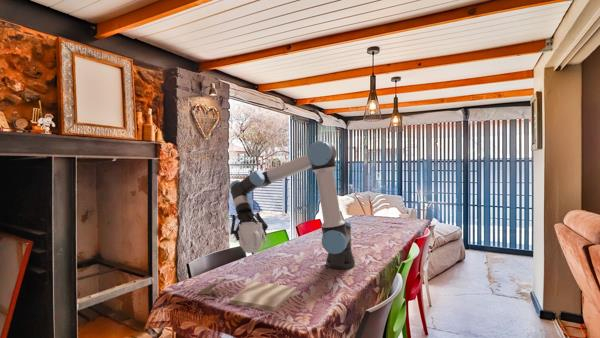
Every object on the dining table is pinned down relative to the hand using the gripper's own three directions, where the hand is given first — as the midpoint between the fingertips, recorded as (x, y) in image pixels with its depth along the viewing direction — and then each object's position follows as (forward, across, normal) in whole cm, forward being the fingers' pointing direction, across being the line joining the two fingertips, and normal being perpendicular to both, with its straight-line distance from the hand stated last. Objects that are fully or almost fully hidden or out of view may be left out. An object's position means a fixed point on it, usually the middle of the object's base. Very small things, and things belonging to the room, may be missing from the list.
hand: (253, 243), depth 151 cm
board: (+26, +3, +3) cm, 27 cm away
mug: (+1, 0, -5) cm, 5 cm away
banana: (+13, +17, -12) cm, 24 cm away
